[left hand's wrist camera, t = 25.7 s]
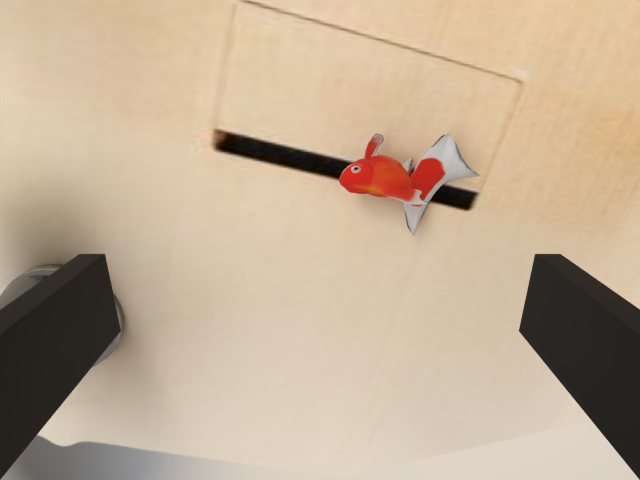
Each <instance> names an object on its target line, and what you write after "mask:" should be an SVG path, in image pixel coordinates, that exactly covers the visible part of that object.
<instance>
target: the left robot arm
mask: <svg viewBox="0 0 640 480" xmlns="http://www.w3.org/2000/svg"><path fill="white" fill-rule="evenodd" d="M123 329H124V319H123V314H122V310H121V308H120V305H119V303H118V301H117V300H116V298H115V296H114V295H113V291H112V286H111V281H110V276H109V272H108V267H107V262H106V257H105V254H79V255H78V256H76V257H75V258H73V259H72V260H70V261H69V262H68V263H66V264H65V265H45V266H40V267H36V268H33V269H31V270H29V271H27V272H25V273H24V274H22V275H21V276H19V277H18V278H16V279H15V280H13V281H12V282H11V283H10V284H9V285H8V287H7V288H6V289H5V290H4V292H3V293H2V295H1V296H0V479H1V478H2V477H3V476H4V474H5V473H6V472H7V471H8V469H9V468H10V467H11V466H12V465H13V463H14V462H15V461H16V460H17V458H18V457H19V456H20V455H21V453H22V452H23V451H24V450H25V449H26V447H27V446H28V445H29V444H30V442H31V441H32V440H33V439H34V437H35V436H36V435H37V434H38V433H39V431H40V430H41V429H42V428H43V426H44V425H45V424H46V423H47V422H48V420H49V419H50V418H51V417H52V415H53V414H54V413H55V412H56V410H57V409H58V408H59V407H60V406H61V404H62V403H63V402H64V401H65V399H66V398H67V397H68V396H69V394H70V393H71V392H72V391H73V390H74V388H75V387H76V386H77V385H78V383H79V382H80V381H81V380H82V378H83V377H84V376H85V375H86V374H87V372H88V371H89V370H90V369H91V368H92V367H93V366H95V365H97V364H98V363H100V362H101V361H103V360H104V359H105V358H106V357H108V356H109V355H110V353H111V352H112V351H113V350H114V348H115V347H116V346H117V344H118V343H119V341H120V339H121V337H122V334H123ZM519 332H520V333H521V334H522V335H523V337H524V338H525V339H526V340H527V341H528V343H529V344H530V345H531V346H532V348H533V349H534V350H535V351H536V353H537V354H538V355H539V356H540V358H541V359H542V360H543V361H544V362H545V364H546V365H547V366H548V367H549V369H550V370H551V371H552V372H553V374H554V375H555V376H556V377H557V378H558V380H559V381H560V382H561V383H562V385H563V386H564V387H565V388H566V390H567V391H568V392H569V393H570V394H571V396H572V397H573V398H574V399H575V401H576V402H577V403H578V404H579V406H580V407H581V408H582V409H583V410H584V412H585V413H586V414H587V415H588V417H589V418H590V419H591V420H592V421H593V423H594V424H595V425H596V426H597V428H598V429H599V430H600V431H601V433H602V434H603V435H604V436H605V437H606V439H607V440H608V441H609V442H610V444H611V445H612V446H613V447H614V449H615V450H616V451H617V452H618V454H619V455H620V456H621V457H622V458H623V460H624V461H625V462H626V463H627V465H628V466H629V467H630V468H631V470H632V471H633V472H634V473H635V474H636V476H637V477H638V478H639V479H640V309H638V308H637V307H635V306H634V305H632V304H631V303H630V302H628V301H627V300H625V299H624V298H622V297H621V296H620V295H618V294H617V293H615V292H614V291H612V290H611V289H610V288H608V287H607V286H605V285H604V284H602V283H601V282H600V281H598V280H597V279H595V278H594V277H592V276H591V275H590V274H588V273H587V272H585V271H584V270H582V269H581V268H580V267H578V266H577V265H575V264H574V263H572V262H571V261H570V260H568V259H567V258H565V257H564V256H562V255H561V254H535V257H534V262H533V267H532V272H531V276H530V281H529V286H528V291H527V295H526V300H525V305H524V309H523V314H522V319H521V324H520V328H519Z"/></svg>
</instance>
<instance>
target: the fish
mask: <svg viewBox="0 0 640 480" xmlns="http://www.w3.org/2000/svg"><path fill="white" fill-rule="evenodd" d="M382 142H383V136H382V135H380V134H376V135H374V136H373V137H372V139H371V141H370V142H369V143H368V145H367V148H366V152H365V158H364V159H360V160H357V161H356V162H354V163H352V164H351V165H349V166H348V167H347V168H346V169H345V170H344V171H343V172H342V174H341V177H340V180H339V181H340V184H341V185H342V186H343V187H345V188H346V189H347V191H349V192H351V193H359V194H365V193H367V194H370V195H373V196H378V197H391V198H394V199H397V200H400V201H402V202H403V203H404V210H405V215H406V220H407V225H408V228H409V230H410V231H411V233H412V234H413V236H414V235H415V232H416V230H417V227H418V225H419V222H420V220H421V218H422V216H423V214H424V211H425V209H426V207H427V205H428V204H430V203H429V202H430V200H431V198H432V197H433V195H434V194H435V192H436V191H437V190H438V189H439V187H440V186H441V185H443V184H444V183H447V182H449V181H452V180H455V179H459V178H469V177H475V176H480V175H479V174H477V173H475V172H474V171H472V170H471V169H470V168H469V167H468V166H467V164H466V163H465V162H464V160H463V158H462V157H461V155H460V153H459V150H458V148H457V145H456V142H455V141H454V140H453V139H452V137H451V136H450V135H449V134H446V135H443V136H441V137H440V139H439V140H438V141H437V142H436V143H435V144H434V145H433V146H432V147H431V148H430V149H429V150H428V151H427V152H426V154H425V155H424V156H423V157H422V158H421V159H420V161H419V162H418V163H417V164H416V165H415V167H414V168H413V169H412V170H411V171H410V175H409V174H408V171H409V168H410V164H411V161H412V158H410V159H408V160H407V161H406V162H405V163H403V164H402V165H401V164H400V163H399V162H398V161H396V160H394V159H392V158H390V157H387V156H379V155H378V153H377V152H376V151H377V148H378V147H379V145H380V144H381V143H382Z"/></svg>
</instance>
